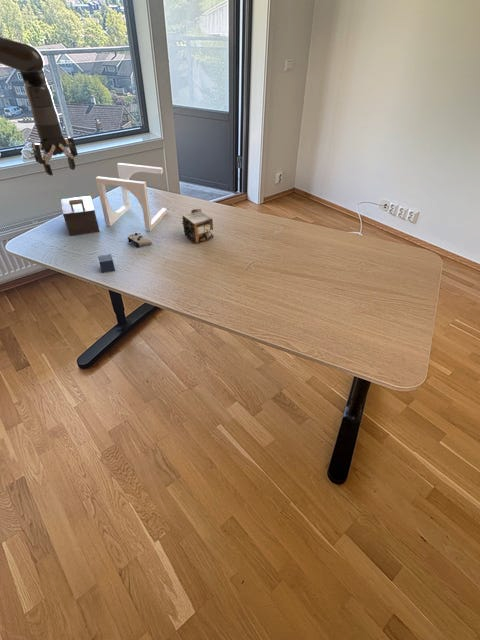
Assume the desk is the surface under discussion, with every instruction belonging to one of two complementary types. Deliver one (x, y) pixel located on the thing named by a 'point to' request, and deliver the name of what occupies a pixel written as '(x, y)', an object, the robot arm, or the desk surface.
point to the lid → (77, 205)
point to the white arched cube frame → (128, 185)
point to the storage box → (81, 223)
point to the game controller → (139, 239)
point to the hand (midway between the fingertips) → (61, 172)
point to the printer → (197, 225)
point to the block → (106, 263)
